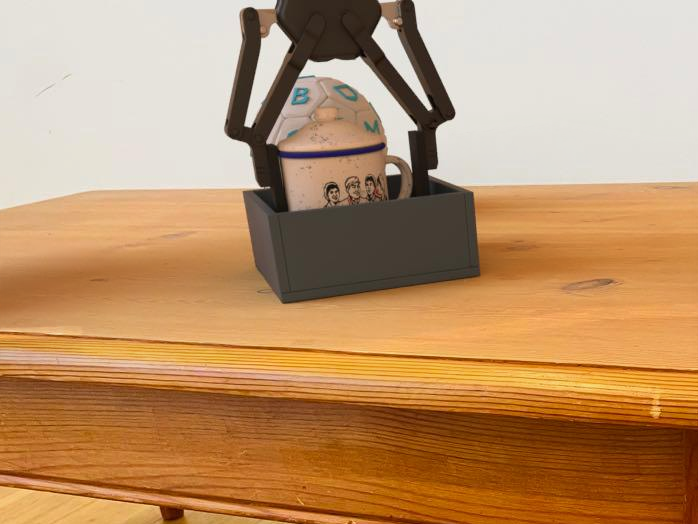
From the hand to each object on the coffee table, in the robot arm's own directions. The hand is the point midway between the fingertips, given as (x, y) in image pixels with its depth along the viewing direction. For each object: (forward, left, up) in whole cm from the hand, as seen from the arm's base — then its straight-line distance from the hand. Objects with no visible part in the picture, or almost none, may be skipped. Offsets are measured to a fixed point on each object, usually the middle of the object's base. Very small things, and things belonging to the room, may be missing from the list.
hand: (354, 218), depth 93 cm
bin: (0, 0, -5) cm, 5 cm away
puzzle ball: (+3, +32, -5) cm, 32 cm away
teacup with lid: (0, 0, -3) cm, 3 cm away
